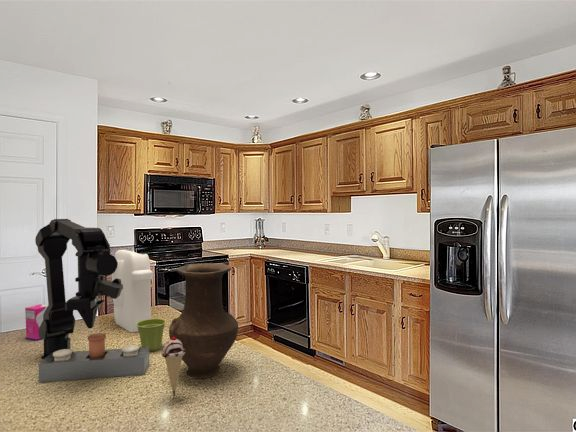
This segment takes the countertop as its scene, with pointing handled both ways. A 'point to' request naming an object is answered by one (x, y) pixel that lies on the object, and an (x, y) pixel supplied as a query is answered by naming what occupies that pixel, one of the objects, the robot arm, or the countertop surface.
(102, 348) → the rust plug
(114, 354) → the socket block
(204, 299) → the vase
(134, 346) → the ivory plug far
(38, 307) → the supplement box
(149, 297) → the white plastic jug
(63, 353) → the ivory plug near
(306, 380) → the countertop surface
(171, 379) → the ice cream cone
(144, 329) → the plant pot
